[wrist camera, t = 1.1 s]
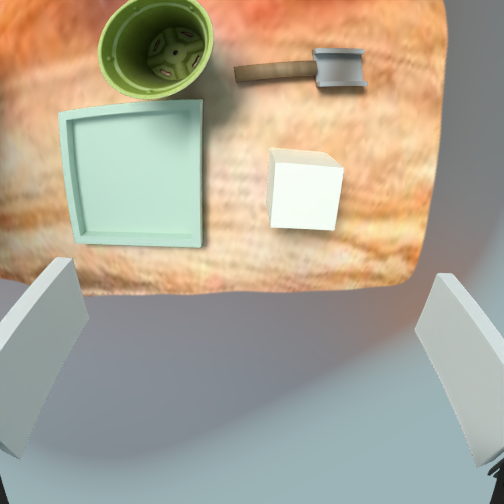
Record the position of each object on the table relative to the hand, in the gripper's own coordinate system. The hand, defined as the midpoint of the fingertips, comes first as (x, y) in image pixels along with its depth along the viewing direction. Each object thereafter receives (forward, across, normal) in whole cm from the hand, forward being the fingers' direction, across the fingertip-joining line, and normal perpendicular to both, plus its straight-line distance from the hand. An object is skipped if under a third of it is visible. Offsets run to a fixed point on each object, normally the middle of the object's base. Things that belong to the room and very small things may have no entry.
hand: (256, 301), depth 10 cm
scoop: (+25, +4, +10) cm, 27 cm away
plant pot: (+24, -8, +11) cm, 28 cm away
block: (+25, +5, -2) cm, 25 cm away
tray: (+24, -13, -2) cm, 28 cm away
